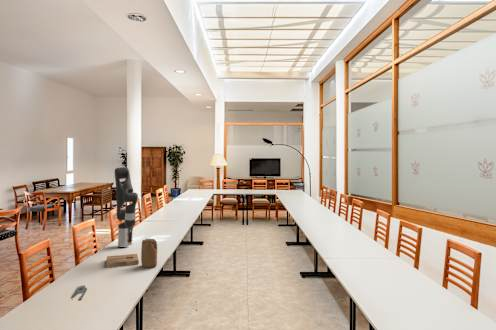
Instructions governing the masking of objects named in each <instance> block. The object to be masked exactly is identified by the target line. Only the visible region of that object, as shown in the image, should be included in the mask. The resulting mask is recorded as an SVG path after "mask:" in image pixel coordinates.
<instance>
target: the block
mask: <svg viewBox="0 0 496 330" xmlns="http://www.w3.org/2000/svg"><path fill="white" fill-rule="evenodd" d="M157 243H158V242H157V241H156V240H155V238H145V239H142V241H141V252H140V255H141V256H140V259H141V260H140V261H141V262H140V263H141V266H142V268H144V269H145V268H146V269H150V268H152V269H153V268H155V267H156V266H157V265H158V244H157Z"/></svg>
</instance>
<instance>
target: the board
mask: <svg viewBox="0 0 496 330" xmlns="http://www.w3.org/2000/svg"><path fill="white" fill-rule="evenodd" d="M138 264H140V261H139V256H138V253H128V254H120V255H119V254H117V255H107V256H106V267H105V268H106V269H107V268H118V267H117V266H119V267H126V266H127V267H128V266H136V265H137V266H139V265H138Z"/></svg>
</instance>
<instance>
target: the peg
mask: <svg viewBox="0 0 496 330" xmlns="http://www.w3.org/2000/svg"><path fill="white" fill-rule="evenodd" d="M128 233H129V232H127V241H128ZM129 235H131V234H129ZM128 245H129V246H132V245H133V238H132V239H131V242H128Z"/></svg>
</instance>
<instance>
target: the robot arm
mask: <svg viewBox="0 0 496 330" xmlns="http://www.w3.org/2000/svg"><path fill="white" fill-rule="evenodd" d="M114 179H115V199H116V219H117V220H119V221H124V222H122V223H119V224H118V226H117V230H118V231H117V248H118V247H127V246H129V247H130V245H128V242H131V239H132V240H133V230H134V227H133V226H135V225H136V206H137V202H138V199H139V194H138V193H137V192H134V188H133V185H132V181H131V175H130V170H129V168H128V167H127V166H125V167H117V168H115V169H114ZM123 179H124V181H123V183H122V182H121V181H120V180H123ZM125 203H130V204H128V205H126V206H125V209H122V207H123V205H124V204H125ZM127 232H129V233H128V241H127ZM129 234H131V235H129ZM127 248H128V247H127Z"/></svg>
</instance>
